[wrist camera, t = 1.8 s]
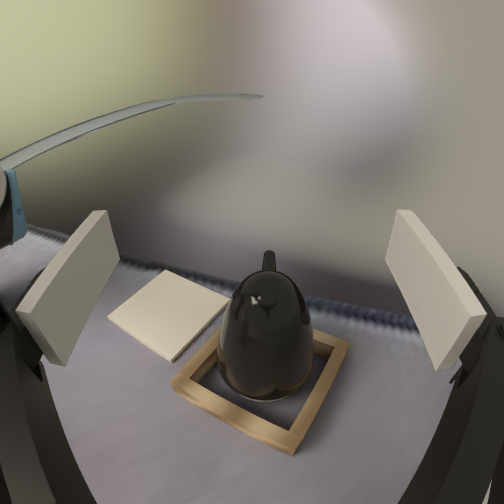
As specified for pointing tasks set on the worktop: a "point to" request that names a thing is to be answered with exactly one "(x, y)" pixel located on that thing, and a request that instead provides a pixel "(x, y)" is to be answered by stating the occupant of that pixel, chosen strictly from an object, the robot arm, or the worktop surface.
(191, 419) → the worktop surface
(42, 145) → the worktop surface
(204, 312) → the tile
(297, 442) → the wooden picture frame
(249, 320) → the black egg-shaped piece
